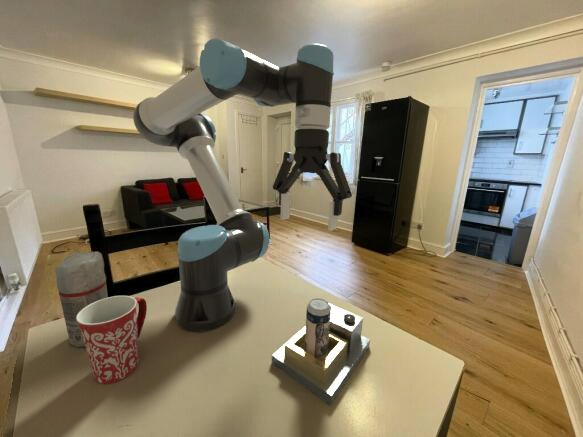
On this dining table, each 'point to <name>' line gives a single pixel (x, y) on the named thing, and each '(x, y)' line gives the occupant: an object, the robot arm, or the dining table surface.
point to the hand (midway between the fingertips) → (307, 224)
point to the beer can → (317, 328)
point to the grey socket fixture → (338, 364)
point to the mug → (112, 336)
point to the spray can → (80, 288)
